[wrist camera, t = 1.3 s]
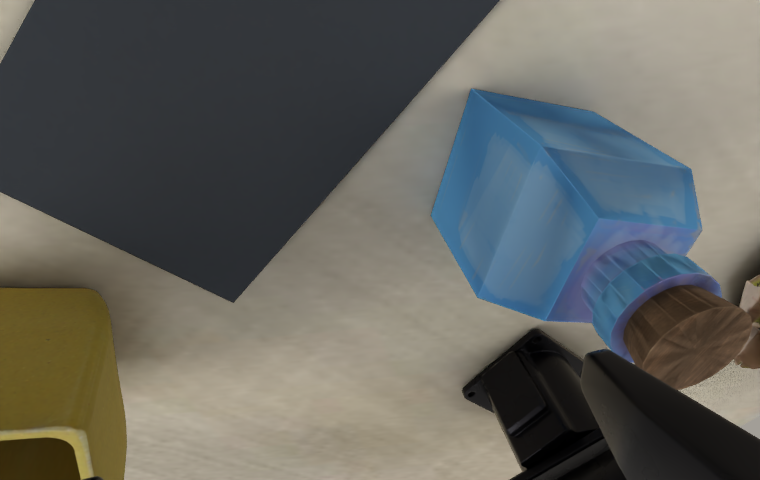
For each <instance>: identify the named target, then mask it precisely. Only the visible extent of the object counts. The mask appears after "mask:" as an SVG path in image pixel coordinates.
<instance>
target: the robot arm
mask: <svg viewBox="0 0 760 480" xmlns="http://www.w3.org/2000/svg"><path fill="white" fill-rule="evenodd" d="M462 393H463V395H464V397H465V398H466V399H467V400H469V401H471V402H473V403H475V404H477V405H479V406H481V407H483V408H485V409H487V410H489V411H491V412H493V413H495V415H496V417H497V419H498V421H499V423H500V426H501V428H502V430H503V432H504V434H505V436H506V438H507V440H508V443H509V445H510V447H511V449H512V451H513V453H514V455H515V457H516V459H517V462H518V464H519V466H520V468H521V470H522V473H520V474H518V475H516V476H515V477H513V478H511V479H510V480H760V439H758V438H757V437H755V436H753V435H751V434H750V433H748V432H747V431H745V430H743V429H742V428H740V427H738V426H736V425H735V424H733V423H731V422H730V421H728V420H726V419H725V418H723V417H721V416H720V415H718V414H716V413H715V412H713V411H711V410H710V409H708V408H706V407H705V406H703V405H701V404H700V403H698V402H696V401H695V400H693V399H691V398H690V397H688V396H686V395H684V394H683V393H681V392H679V391H678V390H676V389H674V388H673V387H671V386H669V385H668V384H666V383H664V382H663V381H661V380H659V379H658V378H656V377H654V376H653V375H651V374H649V373H648V372H646V371H644V370H643V369H641V368H639V367H638V366H636V365H634V364H632V363H631V362H629V361H627V360H626V359H624V358H622V357H621V356H619V355H617V354H616V353H614V352H612V351H610V350H607V349H602V350H598V351H594V352H590V353H587V354H586V356H585V358H584V360H583V359H581V358H580V357H578V356H577V355H575V354H574V353H573V352H571V351H570V350H568V349H567V348H565V347H564V346H563V345H561V344H560V343H558V342H557V341H555V340H554V339H552V338H551V337H550V336H548V335H547V334H545V333H544V332H542V331H541V330H539V329H535V330H532V331H530V332H529V333H528V334H527V335H525V336H524V337H523V338H522V339H521V340H519V341H518V342H517V343H516V344H515V345H514V346H512V347H511V348H510V349H509V350H508V351H506V352H505V353H504V354H503V355H502V356H500V357H499V358H498V359H497V360H496V361H495V362H493V363H492V364H491V365H490V366H489V367H487V368H486V369H485V370H484V371H483V372H481V373H480V374H479V375H478V376H477V377H476V378H474V379H473V380H472V381H471V382H470V383H468V384H467V385H466V386H465V387H464V388H463V390H462ZM82 480H104V479H103V478H102V477H99V476H94V477H90V478H86V479H82Z"/></svg>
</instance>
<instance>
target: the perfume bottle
mask: <svg viewBox="0 0 760 480" xmlns="http://www.w3.org/2000/svg"><path fill="white" fill-rule="evenodd" d="M431 217H432V219H433V221H434V222H435V224H436V226H437V228H438V229H439V231H440V233H441V235H442V236H443V238H444V240H445V242H446V243H447V245H448V247H449V249H450V250H451V252H452V254H453V256H454V257H455V259H456V261H457V263H458V264H459V266H460V268H461V270H462V271H463V273H464V275H465V277H466V278H467V280H468V282H469V284H470V285H471V287H472V289H473V291H474V292H475V294H476V296H477V298H480V299H483V300H486V301H489V302H492V303H494V304H497V305H500V306H503V307H506V308H509V309H512V310H515V311H518V312H520V313H523V314H526V315H529V316H532V317H535V318H538V319H541V320H543V321H556V322H583V323H592V324H593V326H594V328H595V330H596V332H597V333H598V335H599V336H600V337H601V338H602V340H603V341H604V342H605V343H606V345H607V346H608V347H609V348H610V350H611V351H612V352H614V353H616V354H617V355H619V356H621V357H622V358H624V359H626V360H627V361H629V362H634V363H635V365H636V366H638V367H639V368H641V369H643V370H644V371H646V372H648V373H649V374H651V375H653V376H654V377H656V378H658V379H659V380H661V381H663V382H664V383H666V384H668V385H669V386H671V387H673V388H674V389H676V390H680V389H684V388H687V387H689V386H692V385H695V384H698V383H700V382H702V381H703V380H705V379H707V378H709V377H711V376H713V375H714V374H716V373H717V372H718V371H720V370H721V369H723V368H724V367H725V366H727V365H728V364H729V363H730V362H731V361H732V360H733V359H734V358H735V357H736V356H737V355H738V354H739V353H740V352H741V350H742V349H743V347H744V345H745V344H746V342H747V341H748V339H749V336H750V333H751V330H752V322H751V316H750V315H749V314H748V313H747V312H745V311H744V310H743V309H742V308H740V307H738V306H736V305H734V304H732V303H730V302H728V301H726V300H724V299H722V293H721V288H720V284H719V283H718V282H717V281H716V280H715V279H714V278H713V277H712V276H710V275H709V274H708V273H707V272H705V271H704V270H703V269H702V268H700V267H699V266H698V265H697V264H695V263H694V262H693V261H692V260H690V259H689V258H688V257H685V256H686V255H687V253H688V252H689V250H690V249H691V247H692V245H693V244H694V242H695V241H696V239H697V238H698V236H699V235H700V233H701V232H702V225H701V219H700V214H699V208H698V203H697V197H696V192H695V186H694V181H693V175H692V170H691V169H690V168H688V167H687V166H685V165H683V164H682V163H680V162H678V161H676V160H675V159H673V158H671V157H670V156H668V155H666V154H664V153H663V152H661V151H659V150H658V149H656V148H654V147H653V146H651V145H649V144H647V143H646V142H644V141H642V140H641V139H639V138H637V137H636V136H634V135H632V134H630V133H629V132H627V131H625V130H624V129H622V128H620V127H619V126H617V125H615V124H613V123H612V122H610V121H608V120H607V119H605V118H603V117H602V116H600V115H598V114H596V113H595V112H592V111H587V110H582V109H577V108H571V107H566V106H561V105H555V104H550V103H545V102H540V101H534V100H529V99H524V98H518V97H513V96H508V95H503V94H497V93H492V92H487V91H481V90H476V89H471V91H470V94H469V97H468V100H467V104H466V107H465V110H464V113H463V116H462V119H461V122H460V125H459V129H458V132H457V135H456V138H455V141H454V144H453V147H452V151H451V154H450V157H449V160H448V163H447V166H446V169H445V172H444V176H443V179H442V182H441V185H440V188H439V191H438V194H437V197H436V201H435V204H434V207H433V210H432V213H431Z"/></svg>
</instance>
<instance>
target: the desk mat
mask: <svg viewBox="0 0 760 480" xmlns="http://www.w3.org/2000/svg"><path fill="white" fill-rule="evenodd" d="M498 2H499V0H35V1H34V3H33V5H32V7H31V8H30V10H29V12H28V14H27V16H26V18H25V20H24V21H23V23H22V25H21V27H20V29H19V31H18V32H17V34H16V36H15V38H14V40H13V42H12V43H11V45H10V47H9V49H8V51H7V53H6V54H5V56H4V58H3V60H2V62H1V64H0V192H2V193H4V194H6V195H8V196H10V197H12V198H14V199H16V200H19V201H21V202H23V203H25V204H27V205H29V206H31V207H33V208H35V209H37V210H40V211H42V212H44V213H46V214H48V215H50V216H52V217H54V218H56V219H58V220H61V221H63V222H65V223H67V224H69V225H71V226H73V227H75V228H77V229H79V230H82V231H84V232H86V233H88V234H90V235H92V236H94V237H96V238H98V239H100V240H103V241H105V242H107V243H109V244H111V245H113V246H115V247H117V248H119V249H121V250H124V251H126V252H128V253H130V254H132V255H134V256H136V257H138V258H140V259H142V260H145V261H147V262H149V263H151V264H153V265H155V266H157V267H159V268H161V269H163V270H166V271H168V272H170V273H172V274H174V275H176V276H178V277H180V278H182V279H184V280H187V281H189V282H191V283H193V284H195V285H197V286H199V287H201V288H203V289H205V290H208V291H210V292H212V293H214V294H216V295H218V296H220V297H222V298H224V299H226V300H229V301H231V302H233V303H234V302H235V300H236V299H237V298H238V297H239V296H240V295H241V294H242V292H243V291H244V290H245V289H246V288H247V287H248V286H249V284H250V283H251V282H252V281H253V280H254V279H255V278H256V277H257V275H258V274H259V273H260V272H261V271H262V270H263V269H264V267H265V266H266V265H267V264H268V263H269V262H270V261H271V259H272V258H273V257H274V256H275V255H276V254H277V253H278V252H279V250H280V249H281V248H282V247H283V246H284V245H285V244H286V242H287V241H288V240H289V239H290V238H291V237H292V236H293V234H294V233H295V232H296V231H297V230H298V229H299V228H300V227H301V225H302V224H303V223H304V222H305V221H306V220H307V219H308V217H309V216H310V215H311V214H312V213H313V212H314V211H315V209H316V208H317V207H318V206H319V205H320V204H321V203H322V202H323V200H324V199H325V198H326V197H327V196H328V195H329V194H330V192H331V191H332V190H333V189H334V188H335V187H336V186H337V184H338V183H339V182H340V181H341V180H342V179H343V178H344V177H345V175H346V174H347V173H348V172H349V171H350V170H351V169H352V167H353V166H354V165H355V164H356V163H357V162H358V161H359V159H360V158H361V157H362V156H363V155H364V154H365V153H366V152H367V150H368V149H369V148H370V147H371V146H372V145H373V144H374V142H375V141H376V140H377V139H378V138H379V137H380V136H381V134H382V133H383V132H384V131H385V130H386V129H387V128H388V127H389V125H390V124H391V123H392V122H393V121H394V120H395V119H396V117H397V116H398V115H399V114H400V113H401V112H402V111H403V109H404V108H405V107H406V106H407V105H408V104H409V103H410V102H411V100H412V99H413V98H414V97H415V96H416V95H417V94H418V92H419V91H420V90H421V89H422V88H423V87H424V86H425V85H426V83H427V82H428V81H429V80H430V79H431V78H432V77H433V75H434V74H435V73H436V72H437V71H438V70H439V69H440V67H441V66H442V65H443V64H444V63H445V62H446V61H447V60H448V58H449V57H450V56H451V55H452V54H453V53H454V52H455V50H456V49H457V48H458V47H459V46H460V45H461V44H462V42H463V41H464V40H465V39H466V38H467V37H468V36H469V35H470V33H471V32H472V31H473V30H474V29H475V28H476V27H477V25H478V24H479V23H480V22H481V21H482V20H483V19H484V17H485V16H486V15H487V14H488V13H489V12H490V11H491V10H492V8H493V7H494V6H495V5H496V4H497V3H498Z"/></svg>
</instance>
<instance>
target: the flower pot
mask: <svg viewBox="0 0 760 480" xmlns="http://www.w3.org/2000/svg"><path fill="white" fill-rule="evenodd" d="M126 449H127V434H126V420H125V411H124V405H123V399H122V394H121V388H120V382H119V376H118V370H117V364H116V357H115V350H114V343H113V335H112V326H111V319H110V314H109V311H108V308H107V305H106V303H105V301H104V300H103V298H102V297H101V296H100V294H99V293H98V292H96V291H94V290H92V289H87V288H0V480H82V479H86V478H90V477H94V476H99V477H102V478H103V479H104V480H124V472H125V462H126Z"/></svg>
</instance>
